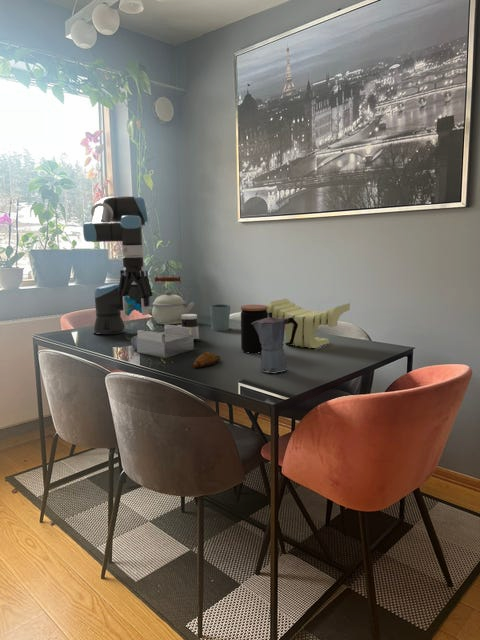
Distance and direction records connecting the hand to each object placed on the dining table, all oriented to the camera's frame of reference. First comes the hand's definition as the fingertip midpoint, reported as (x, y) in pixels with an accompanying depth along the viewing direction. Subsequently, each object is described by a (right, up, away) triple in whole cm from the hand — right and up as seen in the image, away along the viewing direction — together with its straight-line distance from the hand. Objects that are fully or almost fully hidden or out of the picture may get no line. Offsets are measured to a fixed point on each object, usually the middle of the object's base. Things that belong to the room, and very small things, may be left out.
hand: (135, 313), depth 184 cm
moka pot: (+53, -20, -25) cm, 61 cm away
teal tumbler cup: (+31, -7, +50) cm, 59 cm away
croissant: (+29, -19, -15) cm, 38 cm away
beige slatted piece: (+69, -13, +13) cm, 71 cm away
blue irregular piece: (0, -1, 0) cm, 1 cm away
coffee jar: (+47, -15, +4) cm, 49 cm away
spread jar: (+17, -12, +25) cm, 32 cm away
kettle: (+4, -4, +72) cm, 72 cm away
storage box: (+8, -16, +8) cm, 19 cm away
